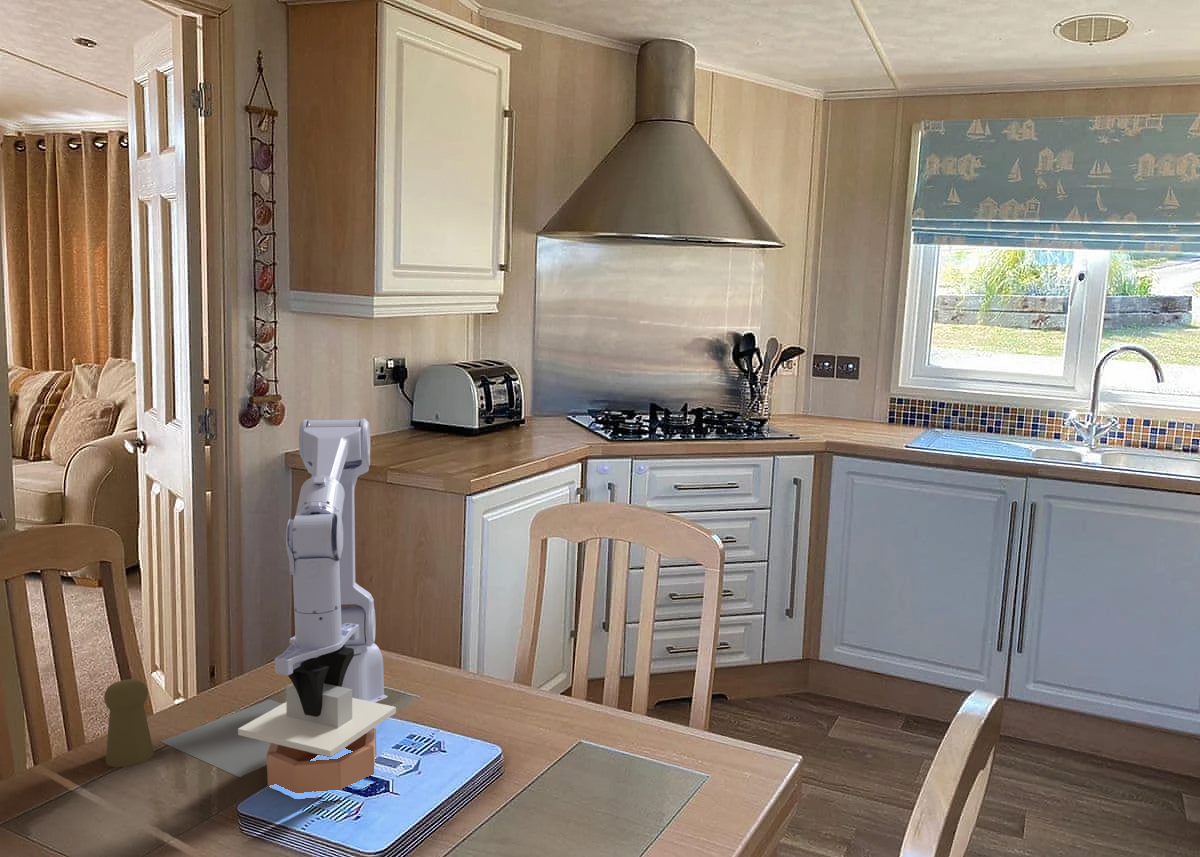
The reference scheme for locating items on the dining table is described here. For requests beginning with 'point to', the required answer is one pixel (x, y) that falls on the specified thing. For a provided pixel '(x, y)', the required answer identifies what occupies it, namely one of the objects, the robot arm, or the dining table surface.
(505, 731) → the dining table surface
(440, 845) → the dining table surface
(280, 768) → the octagonal ring
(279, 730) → the lid
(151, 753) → the cork
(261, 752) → the mat
